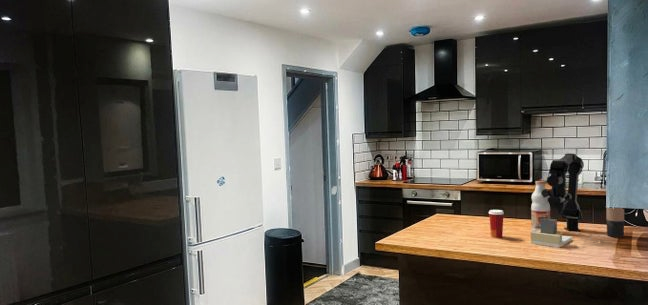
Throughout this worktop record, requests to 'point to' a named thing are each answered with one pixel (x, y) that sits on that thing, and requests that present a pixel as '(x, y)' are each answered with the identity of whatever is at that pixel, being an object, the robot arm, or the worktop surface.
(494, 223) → the paper cup
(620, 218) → the travel mug
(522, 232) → the worktop surface
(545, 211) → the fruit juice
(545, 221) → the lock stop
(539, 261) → the worktop surface
